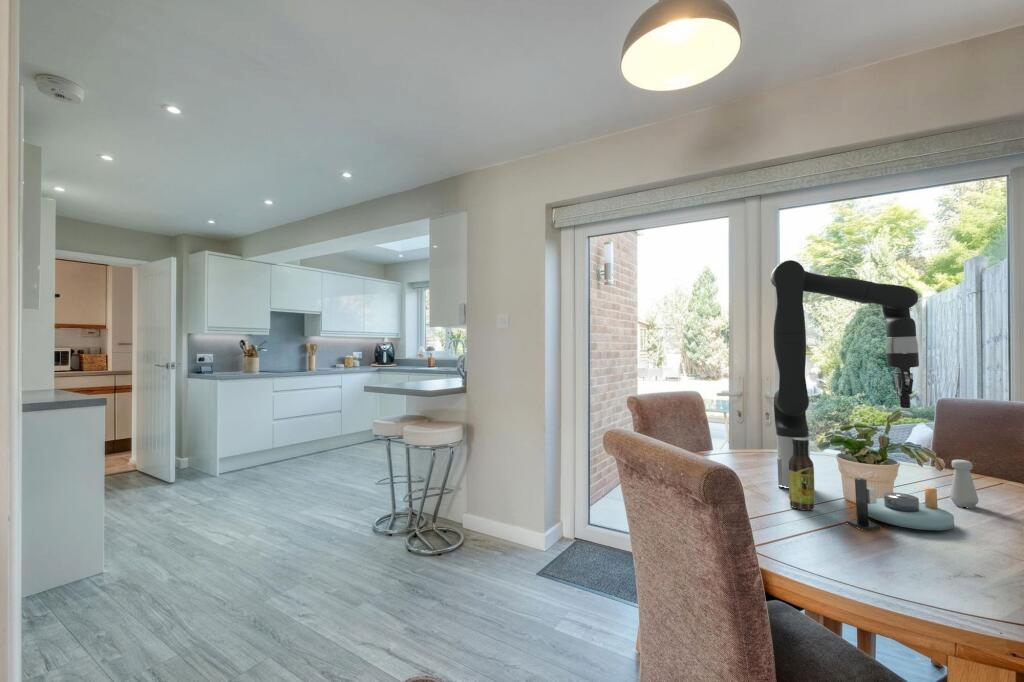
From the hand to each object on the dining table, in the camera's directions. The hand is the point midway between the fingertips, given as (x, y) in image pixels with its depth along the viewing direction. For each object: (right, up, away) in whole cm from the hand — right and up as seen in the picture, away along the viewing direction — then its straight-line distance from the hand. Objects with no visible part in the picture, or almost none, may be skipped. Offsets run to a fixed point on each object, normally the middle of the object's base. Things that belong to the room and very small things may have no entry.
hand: (905, 407), depth 139 cm
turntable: (-18, -26, -21) cm, 38 cm away
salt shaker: (+7, -27, -11) cm, 30 cm away
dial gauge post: (-31, -27, -23) cm, 47 cm away
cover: (-18, -24, -20) cm, 36 cm away
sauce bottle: (-37, -28, -9) cm, 47 cm away
